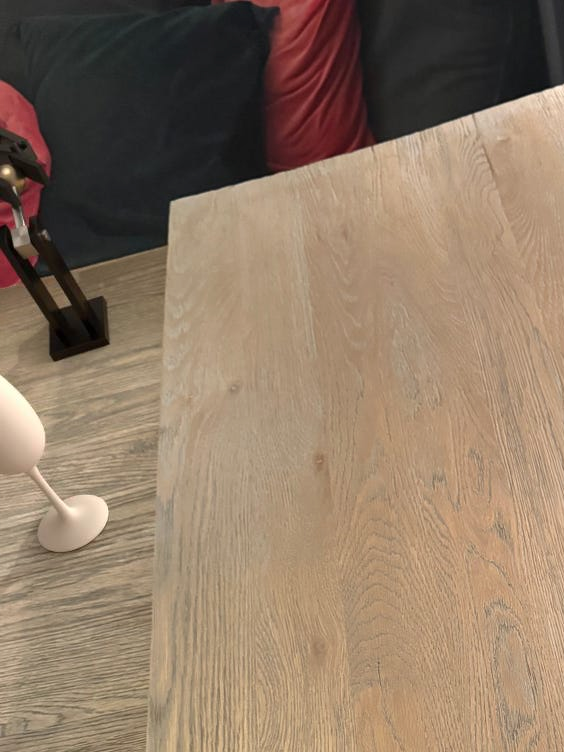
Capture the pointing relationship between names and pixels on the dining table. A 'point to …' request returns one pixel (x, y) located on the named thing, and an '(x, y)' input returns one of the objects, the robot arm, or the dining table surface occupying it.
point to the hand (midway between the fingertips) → (29, 185)
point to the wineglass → (21, 454)
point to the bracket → (66, 325)
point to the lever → (18, 212)
